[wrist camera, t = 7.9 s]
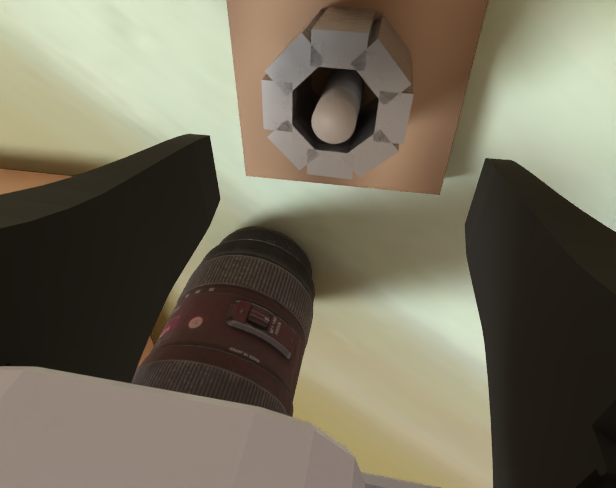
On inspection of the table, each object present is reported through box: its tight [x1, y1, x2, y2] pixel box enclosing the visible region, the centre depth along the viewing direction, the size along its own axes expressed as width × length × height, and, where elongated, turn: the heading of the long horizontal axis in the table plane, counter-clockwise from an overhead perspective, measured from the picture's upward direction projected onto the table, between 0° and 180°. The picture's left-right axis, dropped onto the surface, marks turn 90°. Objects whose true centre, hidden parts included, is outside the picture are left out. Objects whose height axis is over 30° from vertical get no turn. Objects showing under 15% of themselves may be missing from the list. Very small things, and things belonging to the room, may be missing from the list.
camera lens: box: [131, 228, 315, 417], centre depth 22 cm, size 8×8×15 cm
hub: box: [261, 6, 414, 180], centre depth 16 cm, size 5×5×4 cm
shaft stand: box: [227, 0, 488, 195], centre depth 16 cm, size 10×10×6 cm
